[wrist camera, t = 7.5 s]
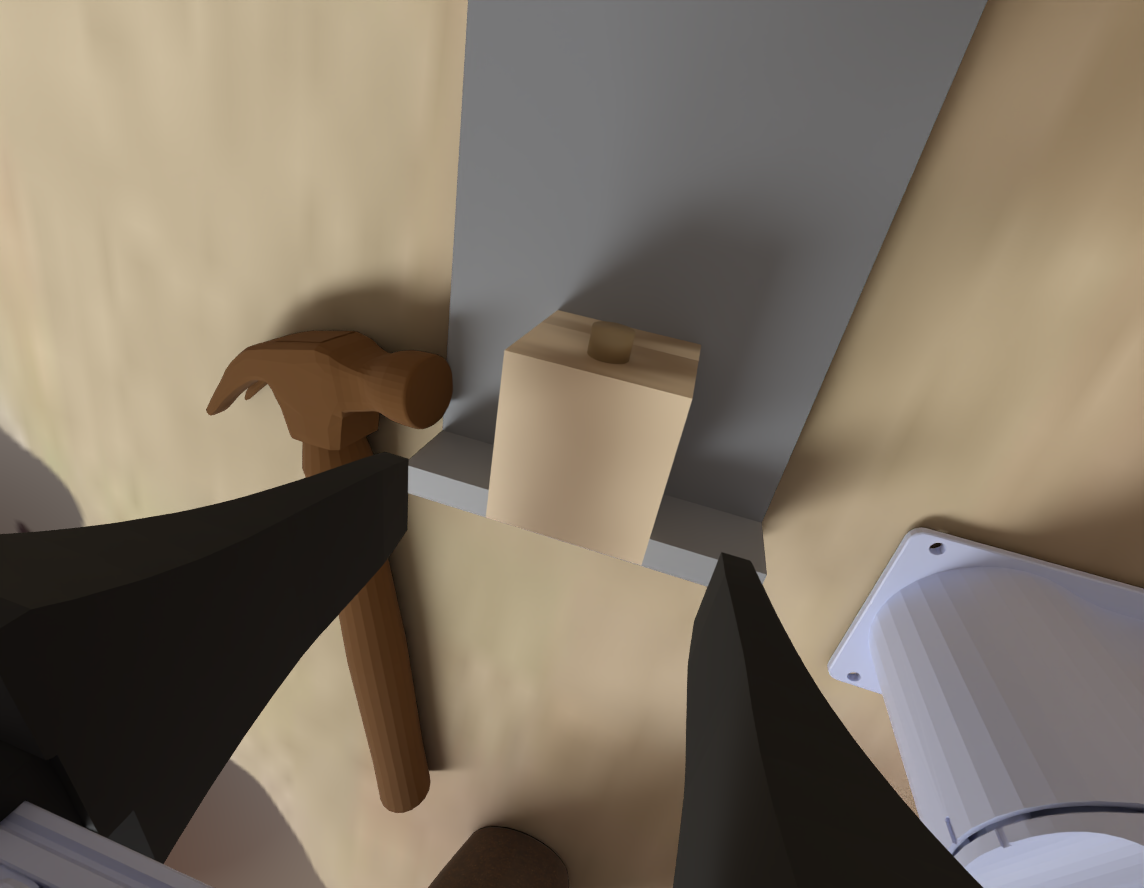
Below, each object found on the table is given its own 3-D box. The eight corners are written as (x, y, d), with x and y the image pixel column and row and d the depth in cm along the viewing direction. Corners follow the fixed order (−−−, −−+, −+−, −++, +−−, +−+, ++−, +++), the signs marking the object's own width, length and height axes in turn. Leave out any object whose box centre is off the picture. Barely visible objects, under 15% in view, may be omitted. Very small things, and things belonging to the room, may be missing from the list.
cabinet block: (708, 321, 17) (701, 368, 13) (660, 482, 20) (641, 565, 16) (561, 286, 18) (508, 320, 13) (535, 447, 21) (485, 517, 16)
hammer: (477, 796, 34) (454, 345, 20) (448, 846, 31) (397, 370, 17) (339, 720, 38) (238, 300, 24) (303, 760, 35) (166, 315, 21)
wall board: (988, -31, 13) (1086, -110, 9) (745, 542, 21) (748, 612, 18) (490, -95, 15) (416, -181, 11) (451, 455, 23) (402, 503, 20)
